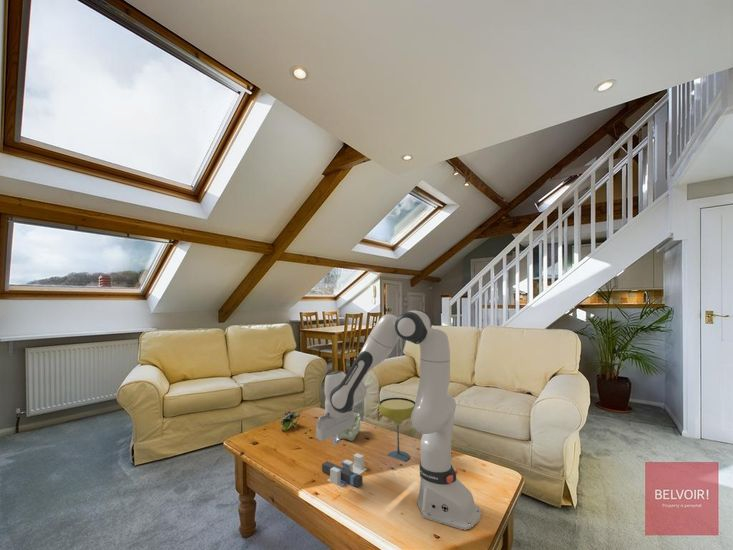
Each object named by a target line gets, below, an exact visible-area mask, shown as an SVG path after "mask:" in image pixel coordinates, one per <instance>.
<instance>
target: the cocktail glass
mask: <svg viewBox="0 0 733 550" xmlns="http://www.w3.org/2000/svg"><path fill="white" fill-rule="evenodd" d="M415 402H416V401H414V400H412V399H409V398H405V397H388V398H385V399H382V400H380V401H379V403H378V410H379V411H378V412H379V413H380V414H381V416H383V417H384V418H386V419H388V420H391V421H392V422H393V423H394V425H396V427H397V431H396V432H397V434H396V435H397V437H396V438H397V439H396V440H397V442H396V443H397V446H396V447H397V448H396V450H393V451H390V452H388V453H387V456H388V457H391V458H394V459H396V460H399V461H401V462H404V461H405V462H407V461H409V460H410V458H411V456H410V454H409V453H408V452H406V451H403V450H400V438H399V437H400V436H399V435H400V433H399V430H400V428H399V427H400V425H401V424H402V422H403V421H406V420H409V419H411V414H412V411H413V409H414V406H415ZM408 459H409V460H408Z"/></svg>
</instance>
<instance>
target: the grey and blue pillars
mask: <svg viewBox="0 0 733 550" xmlns="http://www.w3.org/2000/svg"><path fill="white" fill-rule="evenodd" d="M352 458H353V461H352V460H350V459H345V460H343V461H341V465H342V468H344V469H347V470H349V471H351V472H354V473H357V474H358V475H361V474H362V473H364V472H366V471H367V470H368V468H366V467H365V455H362V454H360V453H354V454H353V455H352ZM341 472H342V469H339V468H337V467H335V466H334V467H333V468H331V469H330V475H329V478H328V479H327V481H328V482H330V483H332V484H334V485H336V486H339V487H340V488H342V487H343V486H345V485H347V484H348V483H347V482H345V481H342V480H341Z"/></svg>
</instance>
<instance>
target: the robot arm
mask: <svg viewBox="0 0 733 550" xmlns="http://www.w3.org/2000/svg"><path fill="white" fill-rule="evenodd" d="M432 321H433V320H432V319H431V317H430V315H429V314H428V313H426V312H425V311H423V310H413V309H412V310H407V311H405V312H403V313H400V314H399V316H396V315H394V314H391V313H387V314H383V315H382V316H381V318H379V320H378V321H377V322H376V323H375V325H374V326H373V328H372V329H371V331H370V333H369V335H368V336H367V338H366V341H365V343H364V344H363V347H362V348H361V350H360V352H359V354H358V355H357V357H356V358H355V360H354V362H353V363H352V364H351V366H350V368H349V369H348V372H347V373H345V372H344V371H342V370H336V371H332V372H329V373H327V374H326V375H325V378H324V396H325V397H324V398H325V399H324V414H323V415H320V416H319V418H318V419H317V421H316V431H315V437H316V439H317V440H319V441H322V442H324V441H326V440H327V439H329V438H330V439H331V440H332V445H333V446H336V445H338V444H340V443H341V439H340V438H341V435H342V431H344V430H346V429H348V428H350V427H352V426H353V425H354V413H355V412H354V409H355V406H356V405H358V404H359V403H361V402H363V401H364V400H365V398H366V397H367V387H366V385H365V383H364V382H363V380H364V378H365V376H366V375H367V374H368V373H369V372H370V371H371V370H373V368H375V367H376V366H378V365H380V364H381V363H382V362H385V360H386V359H387V358H388V357H389V356H390V354H392V352H393V349H394V348H395V346H396V344H397V343H398V341H399V340H400V339H403V340H404V341H408V342H410V343H413V344H415V345H419V348H420V349H419V350H420V351H419V352H420V353H419V354H420V357H419V358H420V359H419V361H420V363H419V381H418V382H419V383H418V387H417V388H418V389H417V392H416V398H415V401H414V402H415V406H414V409H413V411H412V414H411V418H410V420H411V424H412V426H413V427H414V430H416V431H417V432H418V433H420V434H422V435H421V439H420V443H419V444H420V445H419V446H420V463H419V477H420V484H419V491H418V492H419V493H418V496H417V500H416V504H417V507H418V508H419V510H420V511H421V516H422V517H423V518H424V519H426V520H429V521H433V522H436V523H440V524H442V523H443V525H446V526H449V527H453V528H456V529H459V530H462V529H464V530H463V531H467V530H466V529H469V528H471V527H472V526H474V525H475V524H476V523H477V522H478V520H479V518H480V516H481V517H482V510H481V507H480V506H479V505H477V504H476V503H475V501H474V496H473V493H472V492H471V491H470V490H469V489H468V487H467V486H466V485H465V484H464V483H462V482H461V480H460V479H459V478H458V477H457V474H458V473H459V469H458V468H457V469H454V467H453V465H452V448H451V447H452V436H453V429H454V420H455V419H454V418H455V411H456V409H457V408H456V406H457V405H456V404H457V403H456V400H455V398H454V397H453V395H452V394H450V393H449V392H448V390H449V385H450V383H451V351H450V350H451V349H450V342H449V337H448V335H447V333H446V332H444V330H442V329H438V328H437V329H436V328H432V326H433V324H432V323H433V322H432ZM336 434H337V435H336ZM480 519H481V518H480ZM479 521H480V520H479ZM478 523H479V522H478ZM478 523H477V524H478ZM469 524H470V525H469ZM477 524H476V525H477ZM476 525H475V526H476ZM475 526H474V527H475ZM471 529H472V528H471ZM469 530H470V529H469Z"/></svg>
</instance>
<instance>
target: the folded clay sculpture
mask: <svg viewBox="0 0 733 550" xmlns="http://www.w3.org/2000/svg"><path fill="white" fill-rule="evenodd" d="M360 429H361V416H360V413H358V412H354V425H353V426H352V427H350V428H348V429H346V430H344V431H342V435H341V438H340V440H348V441H349V442H353V441H355V439H356V436H358V434H359V432H360ZM336 436H337V434H336Z"/></svg>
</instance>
